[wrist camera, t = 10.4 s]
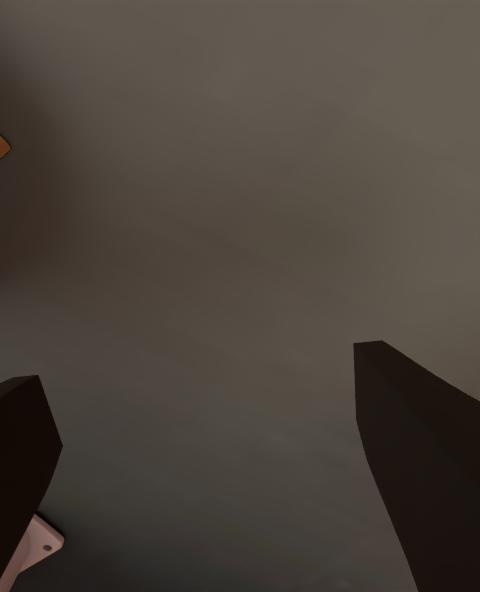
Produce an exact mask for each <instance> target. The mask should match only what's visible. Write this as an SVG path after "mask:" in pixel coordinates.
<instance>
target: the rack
mask: <svg viewBox="0 0 480 592" xmlns="http://www.w3.org/2000/svg"><path fill="white" fill-rule="evenodd" d="M10 148H11V147H10V146H9V145H8V143H7V142H6V141H5V140H4V139H3V138H2V137H1V136H0V158H1V157H2V156H4V155H5V154H6V153H7V152H8V151H9V150H10Z"/></svg>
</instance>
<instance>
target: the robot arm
mask: <svg viewBox="0 0 480 592" xmlns="http://www.w3.org/2000/svg"><path fill="white" fill-rule="evenodd" d="M354 370H355V397H356V421H357V424H358V428H359V432H360V436H361V440H362V444H363V447H364V451H365V455H366V458H367V461H368V464H369V467H370V469H371V472H372V474H373V477H374V479H375V482H376V484H377V487H378V489H379V492H380V494H381V497H382V499H383V502H384V504H385V506H386V509H387V511H388V514H389V516H390V519H391V521H392V524H393V526H394V529H395V531H396V534H397V536H398V538H399V541H400V543H401V546H402V548H403V551H404V553H405V556H406V558H407V561H408V564H409V566H410V569H411V572H412V575H413V577H414V580H415V583H416V586H417V589H418V592H480V401H478V400H476V399H474V398H473V397H471V396H469V395H467V394H465V393H464V392H462V391H460V390H459V389H457V388H455V387H453V386H452V385H450V384H448V383H447V382H445V381H444V380H442V379H440V378H439V377H437V376H436V375H434V374H432V373H431V372H429V371H428V370H426V369H425V368H423V367H422V366H420V365H419V364H417V363H416V362H414V361H413V360H411V359H410V358H408V357H407V356H405V355H404V354H402V353H401V352H399V351H398V350H396V349H395V348H393V347H392V346H390V345H389V344H387V343H385V342H384V341H372V342H362V343H354ZM62 447H63V445H62V442H61V439H60V436H59V433H58V430H57V428H56V425H55V422H54V419H53V416H52V413H51V410H50V407H49V404H48V401H47V398H46V396H45V393H44V390H43V387H42V384H41V381H40V378H39V375H33V376H23V377H13V378H11V379H8V380H6V381H4V382H2V383H0V592H9V591H10V589H11V587H12V585H13V583H14V581H15V579H16V577H17V575H18V574H19V573H20V572H22V571H24V570H25V569H27V568H29V567H30V566H32V565H34V564H35V563H37V562H39V561H40V560H42V559H44V558H45V557H47V556H49V555H50V554H52V553H54V552H55V551H57V550H59V549H60V548H61V547H62V545H63V543H64V538H63V537H62V535H60V534H59V533H58V532H57V531H55V530H54V529H53V528H52V527H51V526H49V525H48V524H47V523H46V522H44V521H43V520H42V519H41V518H40V517H38V516H37V515H36V514H35V512H36V510H37V508H38V507H39V505H40V503H41V501H42V499H43V497H44V495H45V493H46V491H47V489H48V487H49V484H50V481H51V479H52V476H53V473H54V471H55V468H56V465H57V462H58V459H59V456H60V453H61V450H62Z"/></svg>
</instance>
